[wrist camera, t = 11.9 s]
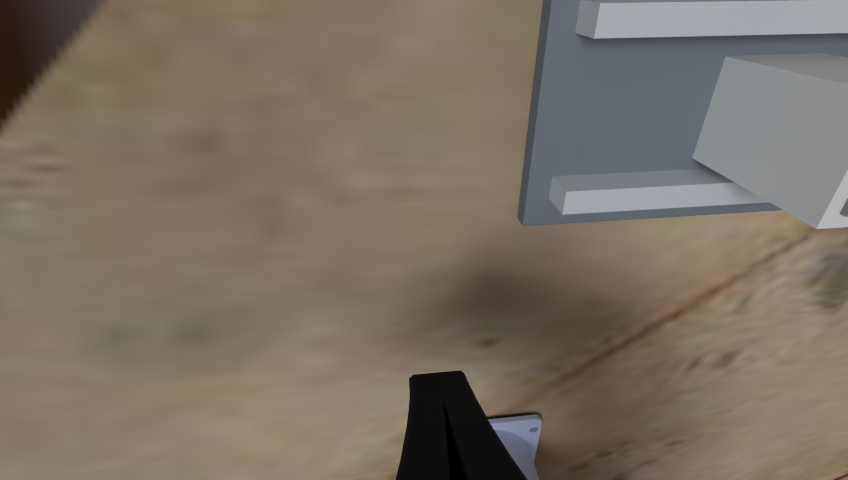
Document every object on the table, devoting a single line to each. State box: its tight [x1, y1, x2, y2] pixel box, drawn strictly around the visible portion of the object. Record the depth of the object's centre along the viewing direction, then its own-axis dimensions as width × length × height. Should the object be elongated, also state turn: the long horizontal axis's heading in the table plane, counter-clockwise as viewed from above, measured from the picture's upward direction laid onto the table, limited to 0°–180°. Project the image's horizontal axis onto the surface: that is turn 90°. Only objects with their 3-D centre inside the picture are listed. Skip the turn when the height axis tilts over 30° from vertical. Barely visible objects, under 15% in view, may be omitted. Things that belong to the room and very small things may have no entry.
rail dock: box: [517, 0, 848, 226], centre depth 17 cm, size 10×18×2 cm, turn 90°
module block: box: [692, 53, 848, 229], centre depth 15 cm, size 4×4×6 cm
